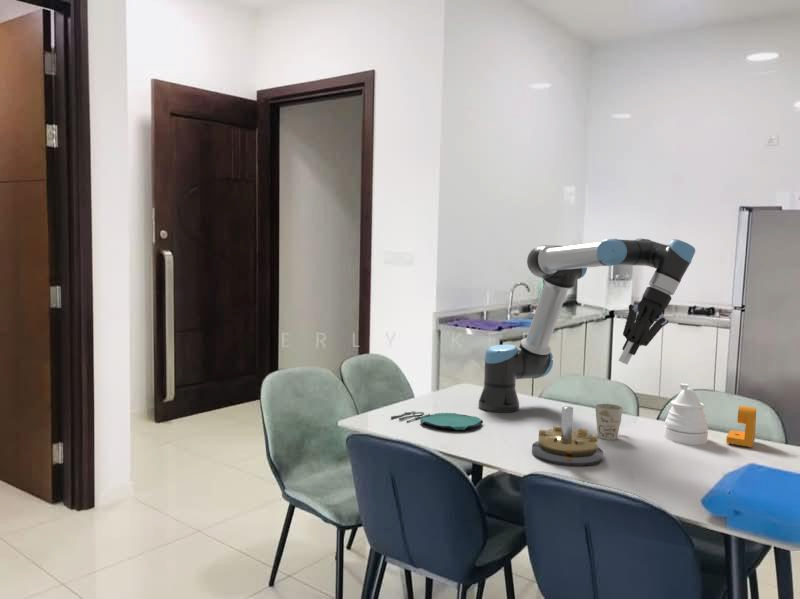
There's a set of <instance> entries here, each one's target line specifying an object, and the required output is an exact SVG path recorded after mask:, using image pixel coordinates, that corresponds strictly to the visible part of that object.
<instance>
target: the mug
mask: <svg viewBox="0 0 800 599" xmlns="http://www.w3.org/2000/svg"><path fill="white" fill-rule="evenodd" d="M594 407H595V419H596V431H597V436H598V438H599V439H603V440H607V441H608V440H609V441H611V440H613V441H614V440H617V439H618V436H619V432H620V426H621V422H622V415H623V407H622V406H621V405H618V404H617V405H616V404H611V403H598V404H595V406H594Z"/></svg>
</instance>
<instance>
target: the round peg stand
mask: <svg viewBox="0 0 800 599" xmlns="http://www.w3.org/2000/svg"><path fill="white" fill-rule="evenodd" d="M573 418H574V407H572V406H569V405H568V406H567V405H566V406H565V405H564V406H561V423H560V425H553V427H552V429H541V428H540V429H539V431H538V440H537V441H538V445H539V447H540V448H542V449H543V450H546V451H548V452H552V453H556V454H561V455H570V456H585V455H591V454H594V453H596V452H597V447H599V446H598V443H599V439H598V438H599V437H598V435H594V434H590V433H588V429H585V428H579V429H578V430H574V429H573V420H574V419H573Z"/></svg>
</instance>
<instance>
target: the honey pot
mask: <svg viewBox="0 0 800 599" xmlns="http://www.w3.org/2000/svg"><path fill="white" fill-rule="evenodd" d="M679 386H680V389H681V391H680V392H679V393H678V395H676V398H675V399H673V400H671V402H670V405H671V408H670V409H669V411H668V414H667V417H666V419H665V420H664V431H663V437H664V438H665V439H666V440H669V441H671V442H673V441H674V442H673V443H677V442H679V443H678V444H683V443H685V445H692V444H700V445H705V444H707V443H708V433H709V430H708V428H709V425H708V423H707V419H706V414H705V412H704V408H705V404H704V403H702V402H701V401H700V398H699V396H698V395H697V392H695V390H694V389H692V388H690V387H689V386H690V385H689V383H679Z"/></svg>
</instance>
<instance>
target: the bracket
mask: <svg viewBox="0 0 800 599" xmlns="http://www.w3.org/2000/svg"><path fill="white" fill-rule="evenodd" d="M737 410H738V411H737V423H738V424H744V425H745V428H744V429H745V430H744V431H742V430H732V429H731V430H729V431H728V433H727V435H726V440H725V441H726V442H725V443H726V444H728V443H731V444H730V445H734V444H737V445H736V446H740V445H743V446H742V447H746V446H749V447H748V448H753V447H754V445H753V444H755V440H756V424H757V423H756V422H757V420H756V419H757V408H756V407H751V406H744V405H739V406H738V409H737ZM752 446H753V447H752Z"/></svg>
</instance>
